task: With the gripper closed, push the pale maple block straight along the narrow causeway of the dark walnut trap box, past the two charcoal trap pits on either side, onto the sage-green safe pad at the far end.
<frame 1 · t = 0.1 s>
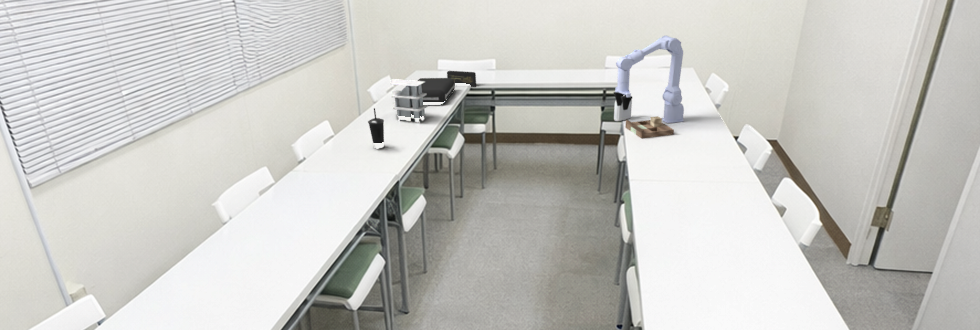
hand: (622, 107, 291), 10 cm above the table, fingers open, 7 cm apart
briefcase: (426, 99, 364), on the table
trap box: (649, 130, 286), on the table
photo printer: (622, 119, 306), on the table
file organizer: (408, 120, 323), on the table
maple block: (655, 125, 286), point 2 cm above the table, touching trap box
nameplate: (462, 86, 391), on the table
drinking cup: (379, 147, 282), on the table
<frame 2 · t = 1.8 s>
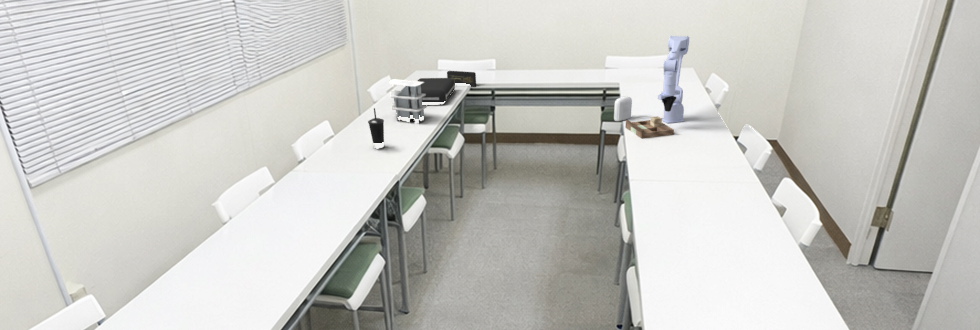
hand: (667, 110, 285), 9 cm above the table, fingers closed
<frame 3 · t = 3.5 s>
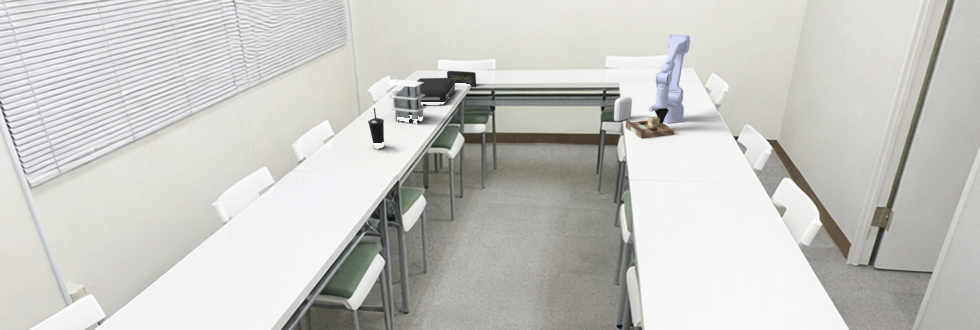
hand: (660, 122, 286), 4 cm above the table, fingers closed
maple block: (653, 125, 286), point 3 cm above the table, touching gripper, trap box
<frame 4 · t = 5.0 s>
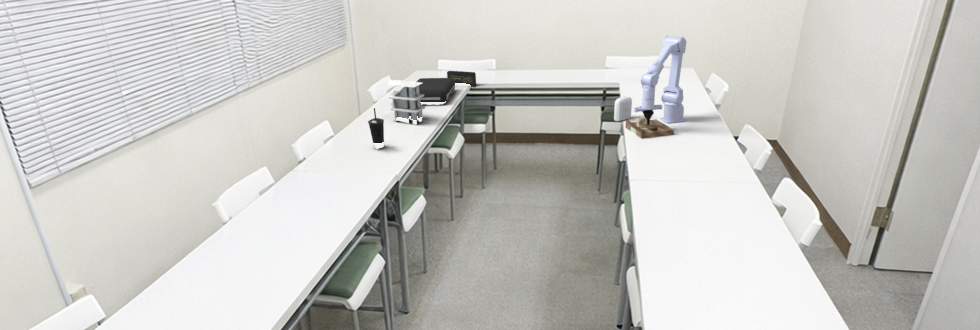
hand: (647, 124, 285), 4 cm above the table, fingers closed, pressing on maple block
maple block: (641, 126, 286), point 3 cm above the table, touching gripper, trap box
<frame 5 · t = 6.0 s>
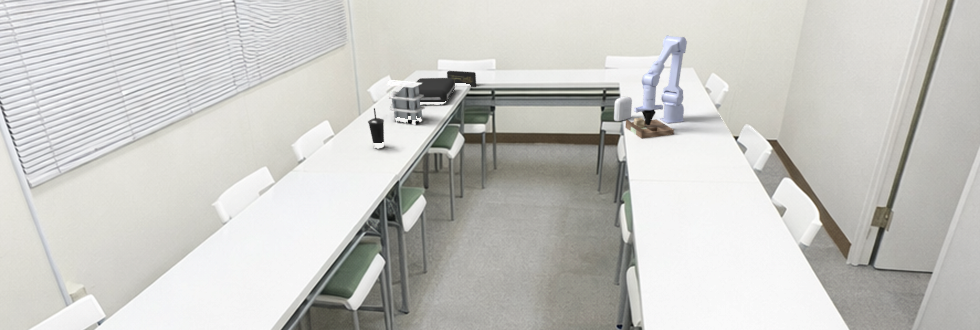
hand: (647, 124, 285), 3 cm above the table, fingers closed
maple block: (638, 126, 285), point 2 cm above the table, touching trap box
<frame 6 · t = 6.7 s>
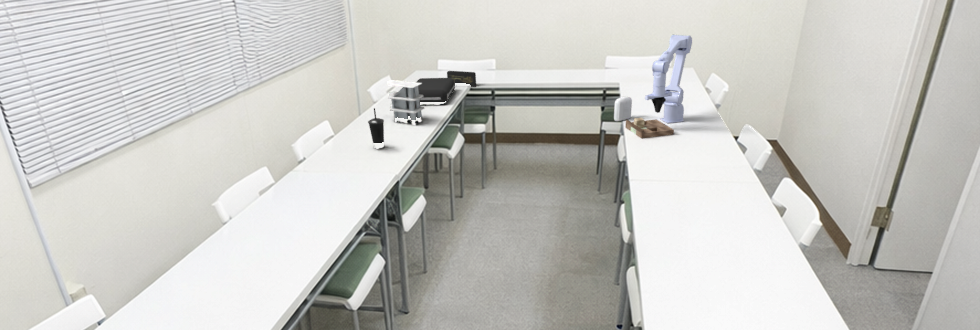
hand: (657, 112, 284), 9 cm above the table, fingers closed
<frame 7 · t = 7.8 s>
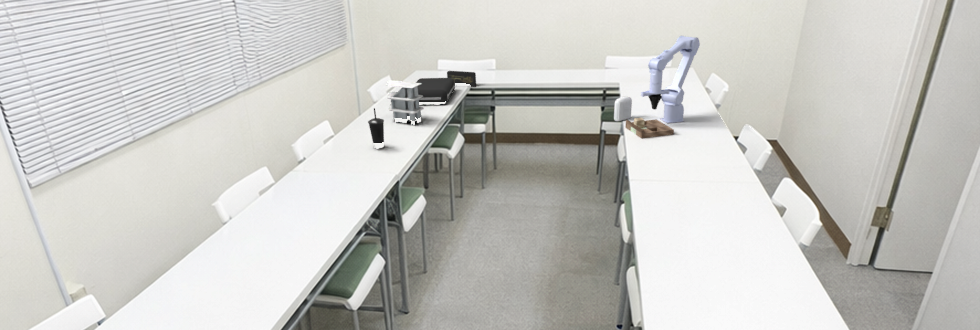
hand: (654, 108, 289), 9 cm above the table, fingers closed
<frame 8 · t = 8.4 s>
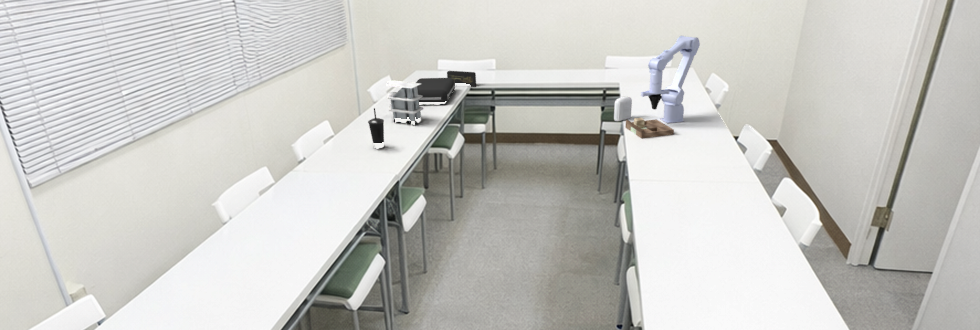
hand: (654, 108, 289), 9 cm above the table, fingers closed
at the end: maple block 0.8 cm from the target spot, point 2.5 cm above the table; maple block tilted 0°; maple block moved 8.8 cm from its start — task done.
